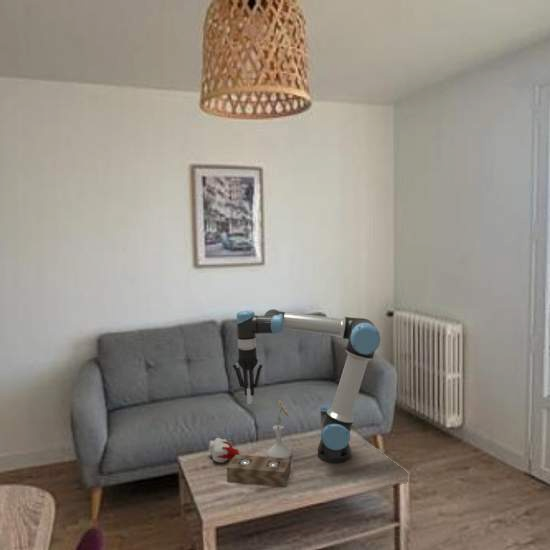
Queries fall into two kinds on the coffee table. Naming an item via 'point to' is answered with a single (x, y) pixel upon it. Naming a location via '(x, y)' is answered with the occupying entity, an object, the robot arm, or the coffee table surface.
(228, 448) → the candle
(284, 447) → the flower in vase
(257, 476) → the walnut block
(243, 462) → the steel peg
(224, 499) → the coffee table surface
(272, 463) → the steel peg
